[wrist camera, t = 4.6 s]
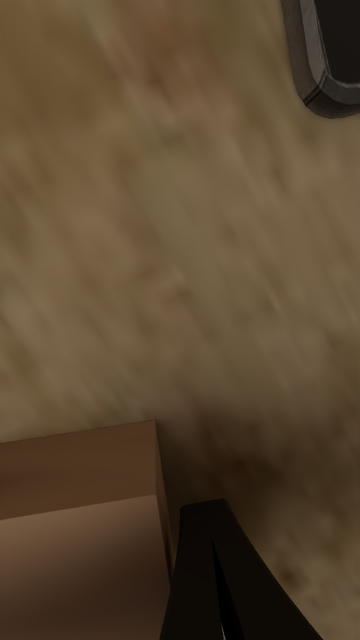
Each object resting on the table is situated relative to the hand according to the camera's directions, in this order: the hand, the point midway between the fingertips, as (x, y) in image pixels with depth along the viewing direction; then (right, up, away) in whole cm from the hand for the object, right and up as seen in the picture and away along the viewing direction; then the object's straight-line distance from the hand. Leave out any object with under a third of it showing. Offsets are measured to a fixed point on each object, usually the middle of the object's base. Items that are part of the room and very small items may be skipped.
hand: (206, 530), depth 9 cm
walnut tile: (-4, 0, +1) cm, 4 cm away
